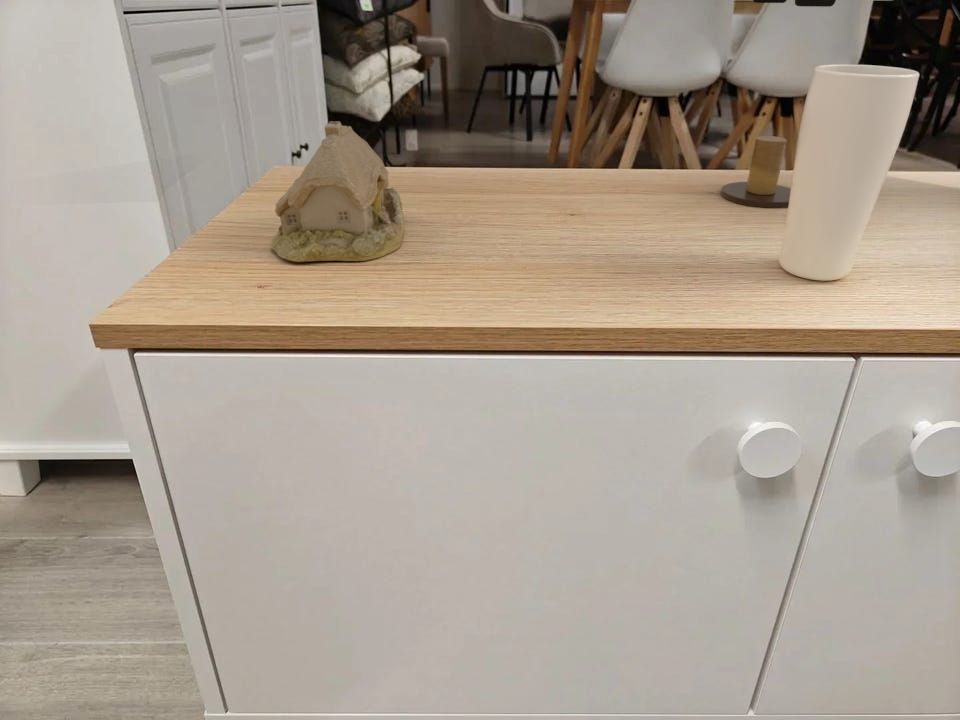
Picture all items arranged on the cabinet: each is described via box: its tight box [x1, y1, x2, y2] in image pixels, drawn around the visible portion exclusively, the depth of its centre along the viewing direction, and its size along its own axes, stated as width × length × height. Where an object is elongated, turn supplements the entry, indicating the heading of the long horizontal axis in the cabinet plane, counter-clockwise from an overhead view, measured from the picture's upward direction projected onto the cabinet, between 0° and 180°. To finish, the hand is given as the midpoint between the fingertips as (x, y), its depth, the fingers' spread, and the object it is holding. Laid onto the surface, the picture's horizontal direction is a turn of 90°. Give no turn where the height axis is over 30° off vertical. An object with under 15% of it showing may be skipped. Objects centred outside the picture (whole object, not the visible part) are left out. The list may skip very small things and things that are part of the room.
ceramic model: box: [270, 120, 405, 263], centre depth 58 cm, size 14×11×10 cm
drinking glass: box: [778, 63, 920, 282], centre depth 51 cm, size 7×7×15 cm
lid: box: [720, 135, 791, 209], centre depth 71 cm, size 8×8×6 cm
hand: (790, 4), depth 61 cm, fingers open, 9 cm apart
